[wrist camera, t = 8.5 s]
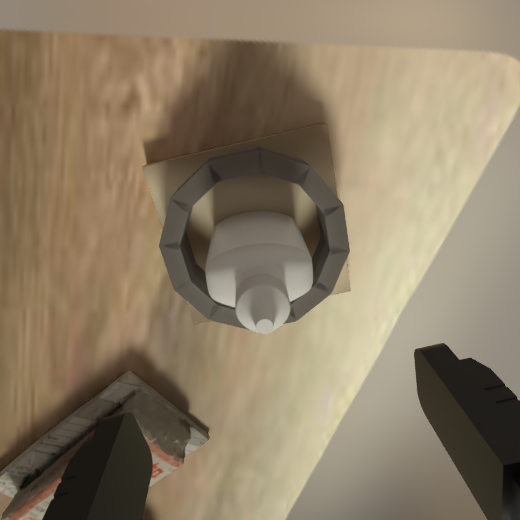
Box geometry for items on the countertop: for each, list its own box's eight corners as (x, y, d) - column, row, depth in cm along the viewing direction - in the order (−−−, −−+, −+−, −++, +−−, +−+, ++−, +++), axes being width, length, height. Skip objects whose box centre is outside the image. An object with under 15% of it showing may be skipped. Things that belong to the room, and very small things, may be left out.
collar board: (146, 164, 25) (129, 174, 22) (322, 123, 25) (337, 125, 21) (196, 316, 30) (189, 347, 26) (346, 283, 29) (362, 310, 25)
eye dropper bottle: (229, 188, 25) (219, 253, 14) (305, 221, 26) (352, 305, 15) (205, 246, 26) (179, 346, 15) (278, 274, 28) (303, 388, 16)
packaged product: (111, 404, 27) (207, 476, 30) (129, 362, 32) (211, 428, 35) (-38, 522, 31) (61, 575, 34) (-3, 470, 36) (81, 521, 39)
